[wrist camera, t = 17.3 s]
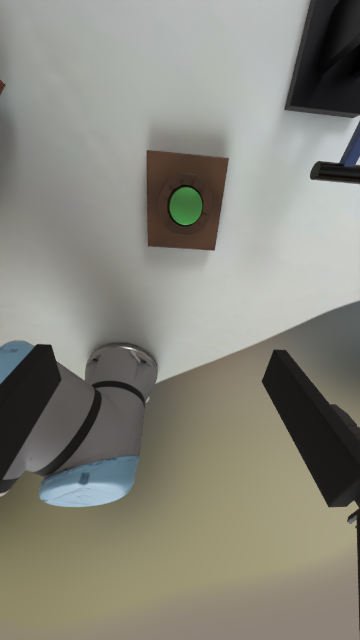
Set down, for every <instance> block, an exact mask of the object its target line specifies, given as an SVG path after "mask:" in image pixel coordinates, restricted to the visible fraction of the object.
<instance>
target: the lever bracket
mask: <svg viewBox="0 0 360 640" xmlns="http://www.w3.org/2000/svg"><path fill="white" fill-rule="evenodd" d="M285 110H290V111H299V112H307V113H316V114H324V115H333V116H342V117H350V118H354V117H356V116H359V115H360V0H311V2H310V6H309V10H308V15H307V19H306V23H305V27H304V31H303V35H302V40H301V44H300V48H299V52H298V56H297V60H296V64H295V69H294V73H293V77H292V81H291V85H290V89H289V93H288V98H287V102H286V106H285Z"/></svg>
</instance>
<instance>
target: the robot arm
mask: <svg viewBox="0 0 360 640" xmlns="http://www.w3.org/2000/svg"><path fill="white" fill-rule="evenodd" d="M156 379H157V365H156V362H155V360H154V359H153V357H152V356H151V355H150V354H149V353H148V352H147V351H145V350H144V349H142V348H140V347H138V346H135V345H132V344H128V343H111V344H107V345H104V346H101V347H100V348H98V349H97V350H95V351H94V352H93V353H92V355H91V356H90V358H89V360H88V362H87V365H86V370H85V381H84V380H83V379H81V378H80V377H78V376H77V375H75V374H74V373H73V372H71V371H70V370H68V369H67V368H66V367H64V366H63V365H61V364H60V363H59V362H57V361H56V359H55V356H54V352H53V349H52V346H51V345H44V344H37V345H36V346H33V345H31V344H30V343H28V342H25V341H11V342H8V343H6V344H4V345H3V346H1V347H0V496H3V495H4V494H6V493H7V492H8V491H9V490H10V489H11V487H12V486H13V485H14V483H15V482H16V480H17V479H18V478H19V477H20V475H21V474H22V473H23V472H24V471H25V470H27V471H30V472H33V473H36V474H38V475H41V476H43V477H44V480H43V481H42V482H41V484H40V490H39V497H40V499H43V501H44V502H45V503H48V504H51V505H56V506H63V507H65V506H66V507H85V506H94V505H100V504H105V503H109V502H112V501H115V500H117V499H120V498H121V497H123V496H124V495H126V494H127V493H128V492H129V491H130V489H131V488H132V486H133V484H134V481H135V475H136V469H137V464H138V462H139V454H140V445H141V436H142V427H143V418H144V408H145V402H146V400H147V398H148V396H149V394H150V393H151V391H152V389H153V387H154V385H155V382H156ZM262 383H263V385H264V387H265V389H266V391H267V392H268V394H269V396H270V398H271V400H272V402H273V404H274V405H275V407H276V409H277V411H278V413H279V415H280V417H281V419H282V420H283V422H284V424H285V426H286V428H287V430H288V432H289V433H290V435H291V437H292V439H293V441H294V443H295V445H296V447H297V448H298V450H299V452H300V454H301V456H302V458H303V460H304V461H305V464H306V465H307V467H308V469H309V471H310V473H311V475H312V477H313V479H314V480H315V482H316V484H317V486H318V488H319V490H320V492H321V493H322V495H323V497H324V499H325V501H326V503H327V505H328V507H347V506H348V505H349V504H350V503H351V502H352V501H354V500H355V502H356V504H357V505H358V507H359V509H358V510H357V511H355V512H354V513H353V514H351V515H350V516H349V517H348V520H347V522H348V523H350V524H351V523H352V522H354V521H355V520H357V526H356V528H357V549H358V589H359V629H360V428H359V427H357V424H356V423H355V422H354V421H353V420H352V419H351V417H350V416H349V415H348V414H347V413H346V412H344V411H343V410H342V409H341V408H339V407H338V406H337V405H335V404H334V405H333V404H332V405H331V404H329V403H328V402H327V401H326V399H325V398H324V397H323V395H322V394H321V393H320V392H319V391H318V389H317V388H316V387H315V386H314V384H313V383H312V382H311V381H310V379H309V378H308V377H307V376H306V374H305V373H304V372H303V371H302V370H301V368H300V367H299V366H298V365H297V363H296V362H295V361H294V360H293V358H292V357H291V356H290V355H289V354H288V352H287V351H286V350H274V351H273V353H272V356H271V359H270V361H269V364H268V367H267V369H266V372H265V375H264V377H263V379H262Z"/></svg>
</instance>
